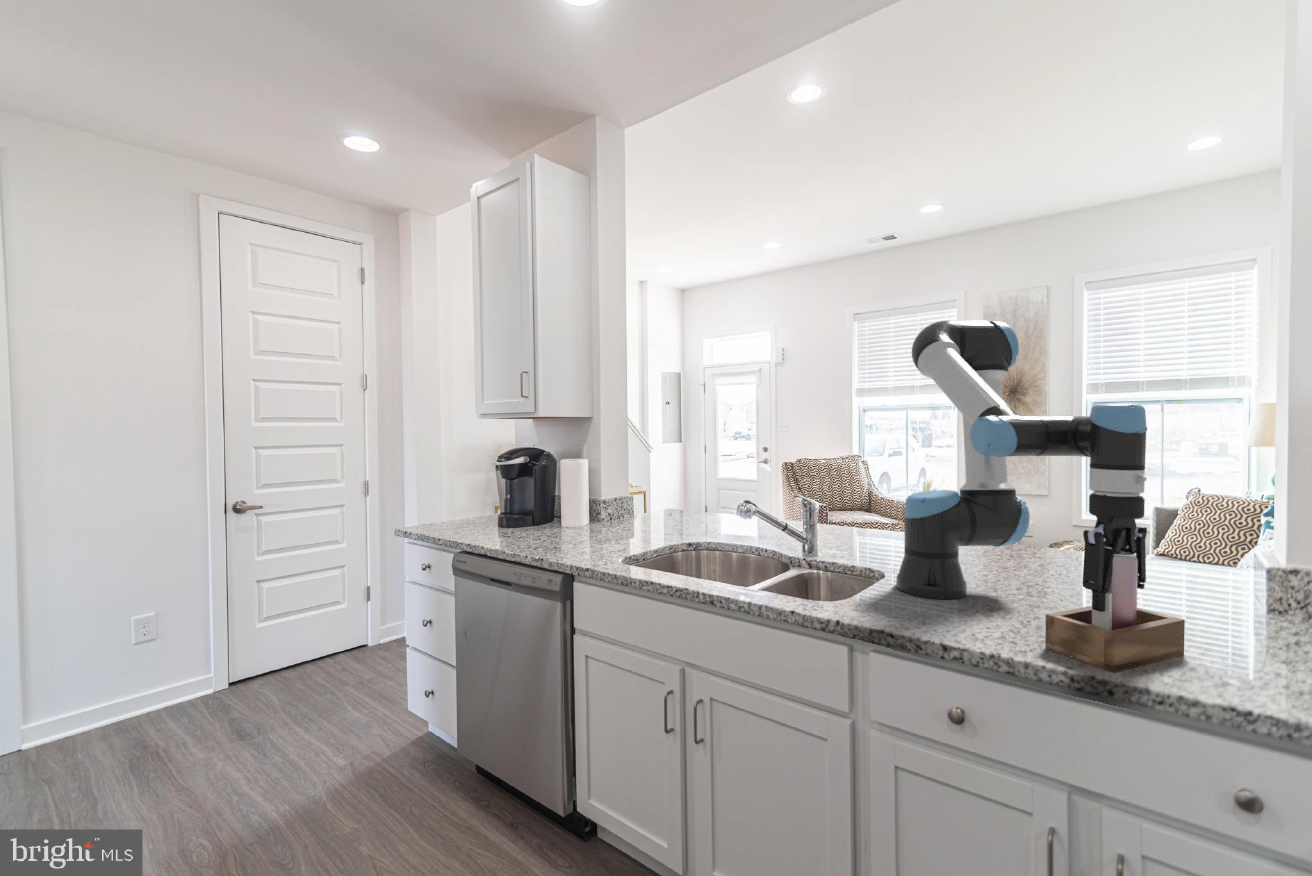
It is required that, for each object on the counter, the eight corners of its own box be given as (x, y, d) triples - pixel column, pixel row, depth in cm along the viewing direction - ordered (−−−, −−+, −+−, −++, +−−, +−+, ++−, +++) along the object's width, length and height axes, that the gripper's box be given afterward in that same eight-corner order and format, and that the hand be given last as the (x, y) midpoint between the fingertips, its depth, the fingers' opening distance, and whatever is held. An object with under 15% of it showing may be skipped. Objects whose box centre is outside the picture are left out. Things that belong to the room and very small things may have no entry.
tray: (1045, 648, 103) (1045, 614, 103) (1113, 633, 111) (1113, 601, 110) (1114, 672, 93) (1114, 635, 93) (1184, 654, 100) (1184, 619, 100)
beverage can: (1089, 629, 106) (1091, 546, 105) (1131, 634, 103) (1132, 549, 103) (1096, 640, 101) (1097, 552, 100) (1140, 646, 98) (1142, 556, 97)
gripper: (1105, 499, 94) (1102, 641, 95) (1174, 493, 101) (1171, 626, 102) (1057, 493, 101) (1055, 626, 102) (1126, 488, 108) (1123, 613, 109)
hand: (1113, 626), depth 102 cm, fingers closed on beverage can, 6 cm apart
